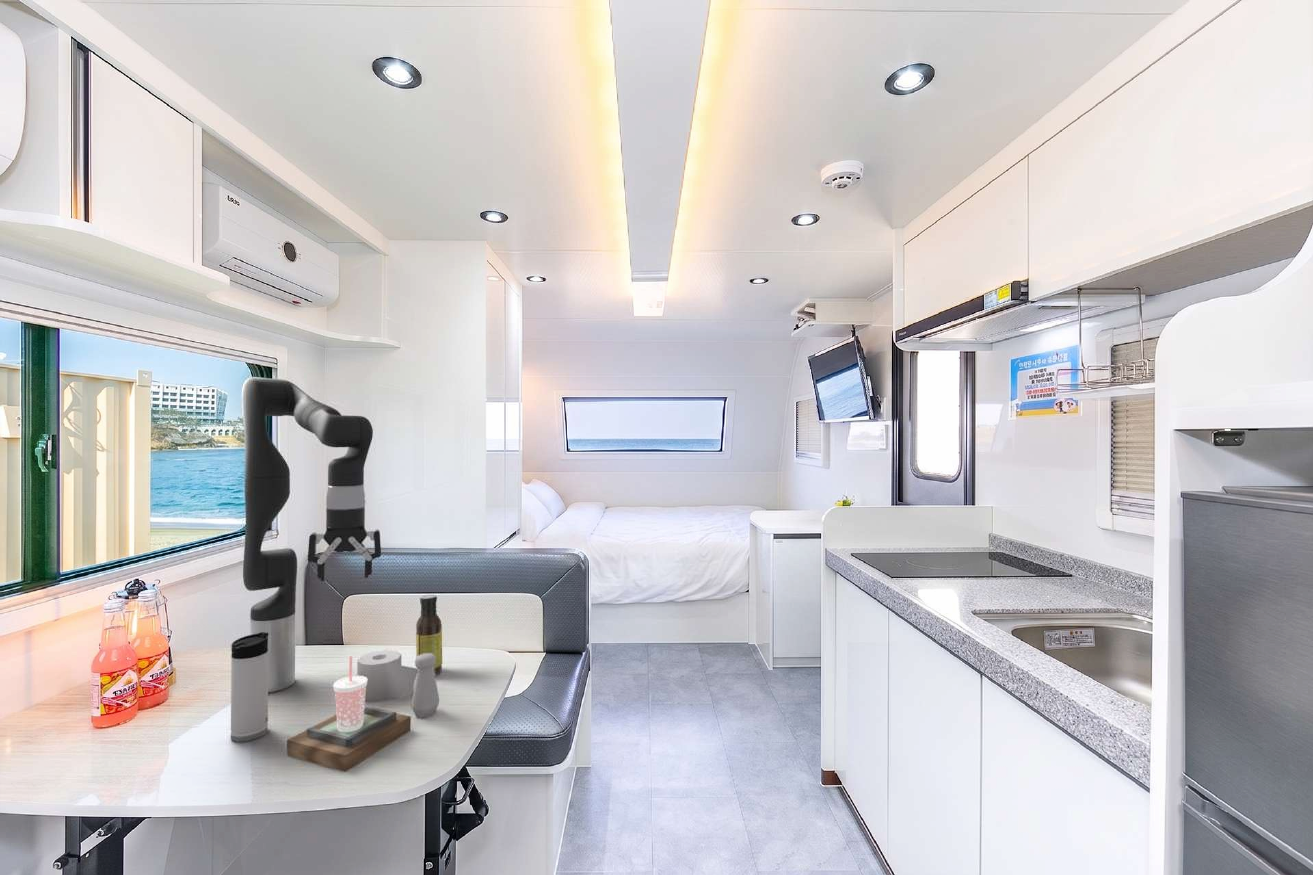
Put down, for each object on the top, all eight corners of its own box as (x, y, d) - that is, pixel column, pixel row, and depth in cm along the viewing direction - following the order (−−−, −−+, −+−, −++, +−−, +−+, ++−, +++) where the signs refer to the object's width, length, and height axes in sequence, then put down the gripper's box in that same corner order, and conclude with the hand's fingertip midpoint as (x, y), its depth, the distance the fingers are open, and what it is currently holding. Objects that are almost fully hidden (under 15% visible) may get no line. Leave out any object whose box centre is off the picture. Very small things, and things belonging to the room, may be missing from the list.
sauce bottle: (447, 671, 153) (447, 595, 153) (427, 680, 147) (428, 601, 147) (430, 666, 156) (430, 591, 156) (410, 675, 151) (410, 597, 150)
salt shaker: (429, 721, 126) (429, 661, 126) (405, 718, 127) (405, 659, 127) (444, 709, 132) (444, 651, 132) (421, 706, 133) (421, 649, 133)
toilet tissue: (419, 693, 140) (419, 657, 140) (356, 704, 134) (357, 667, 134) (416, 679, 148) (416, 645, 148) (357, 689, 142) (357, 653, 142)
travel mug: (276, 729, 122) (277, 633, 122) (245, 745, 116) (245, 644, 116) (255, 724, 125) (255, 630, 124) (223, 739, 118) (223, 640, 118)
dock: (287, 755, 112) (287, 732, 112) (356, 718, 127) (356, 697, 127) (345, 771, 107) (345, 747, 107) (410, 730, 122) (410, 709, 122)
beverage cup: (349, 736, 113) (349, 664, 113) (325, 731, 115) (326, 660, 115) (374, 722, 119) (374, 653, 119) (351, 717, 121) (351, 649, 121)
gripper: (306, 509, 123) (305, 586, 123) (381, 506, 129) (380, 579, 129) (310, 504, 130) (310, 577, 130) (381, 502, 136) (381, 572, 136)
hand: (345, 578), depth 130 cm, fingers open, 8 cm apart
